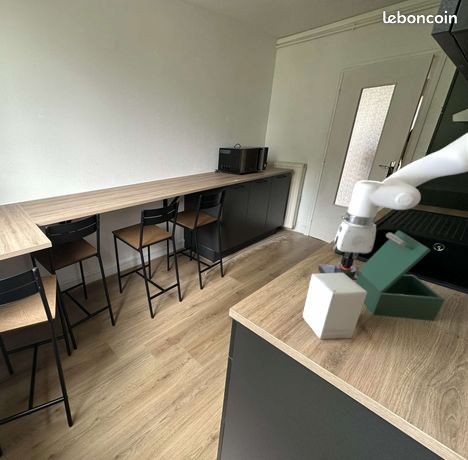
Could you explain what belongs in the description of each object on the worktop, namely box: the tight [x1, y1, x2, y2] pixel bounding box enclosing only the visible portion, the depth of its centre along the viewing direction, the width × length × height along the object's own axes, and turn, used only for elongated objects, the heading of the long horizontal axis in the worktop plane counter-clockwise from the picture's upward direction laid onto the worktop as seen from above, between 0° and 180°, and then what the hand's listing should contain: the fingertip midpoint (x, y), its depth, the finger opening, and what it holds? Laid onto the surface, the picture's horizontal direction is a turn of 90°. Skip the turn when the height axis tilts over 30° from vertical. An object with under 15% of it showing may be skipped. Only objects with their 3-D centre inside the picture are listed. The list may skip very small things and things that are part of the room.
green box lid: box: [359, 229, 432, 293], centre depth 70 cm, size 15×12×5 cm
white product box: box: [302, 273, 367, 340], centre depth 67 cm, size 9×9×15 cm
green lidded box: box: [355, 270, 445, 322], centre depth 74 cm, size 15×12×9 cm
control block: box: [317, 262, 358, 281], centre depth 91 cm, size 10×8×4 cm
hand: (345, 266), depth 90 cm, fingers closed
